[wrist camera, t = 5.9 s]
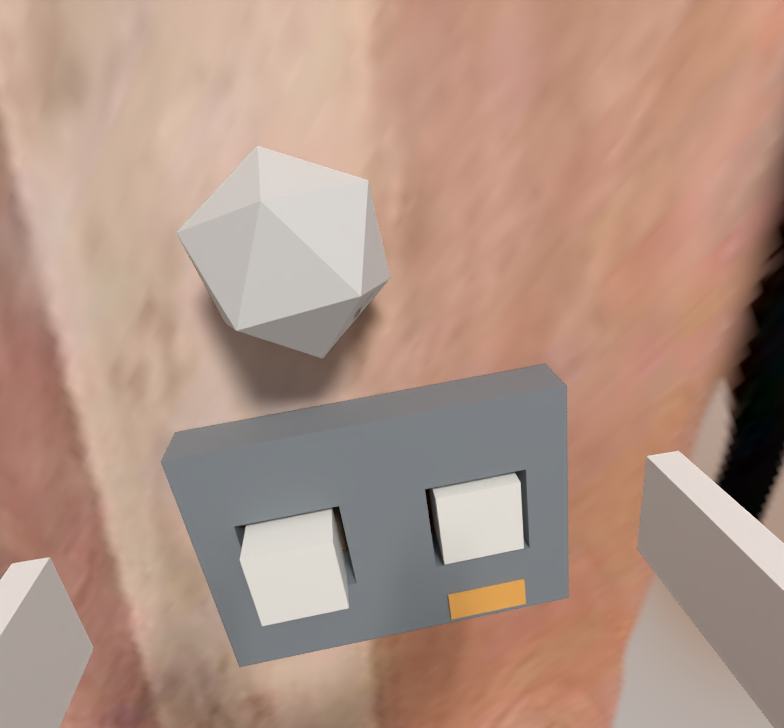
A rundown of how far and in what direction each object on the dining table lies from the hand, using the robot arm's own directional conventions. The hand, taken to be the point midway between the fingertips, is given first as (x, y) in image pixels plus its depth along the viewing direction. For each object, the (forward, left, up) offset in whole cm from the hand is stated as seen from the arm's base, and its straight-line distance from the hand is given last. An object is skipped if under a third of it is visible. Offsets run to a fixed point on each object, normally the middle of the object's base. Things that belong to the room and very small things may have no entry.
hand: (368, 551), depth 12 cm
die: (-2, +4, -19) cm, 19 cm away
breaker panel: (0, -14, -19) cm, 23 cm away
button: (-5, -14, -17) cm, 22 cm away
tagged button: (+6, -14, -18) cm, 24 cm away
